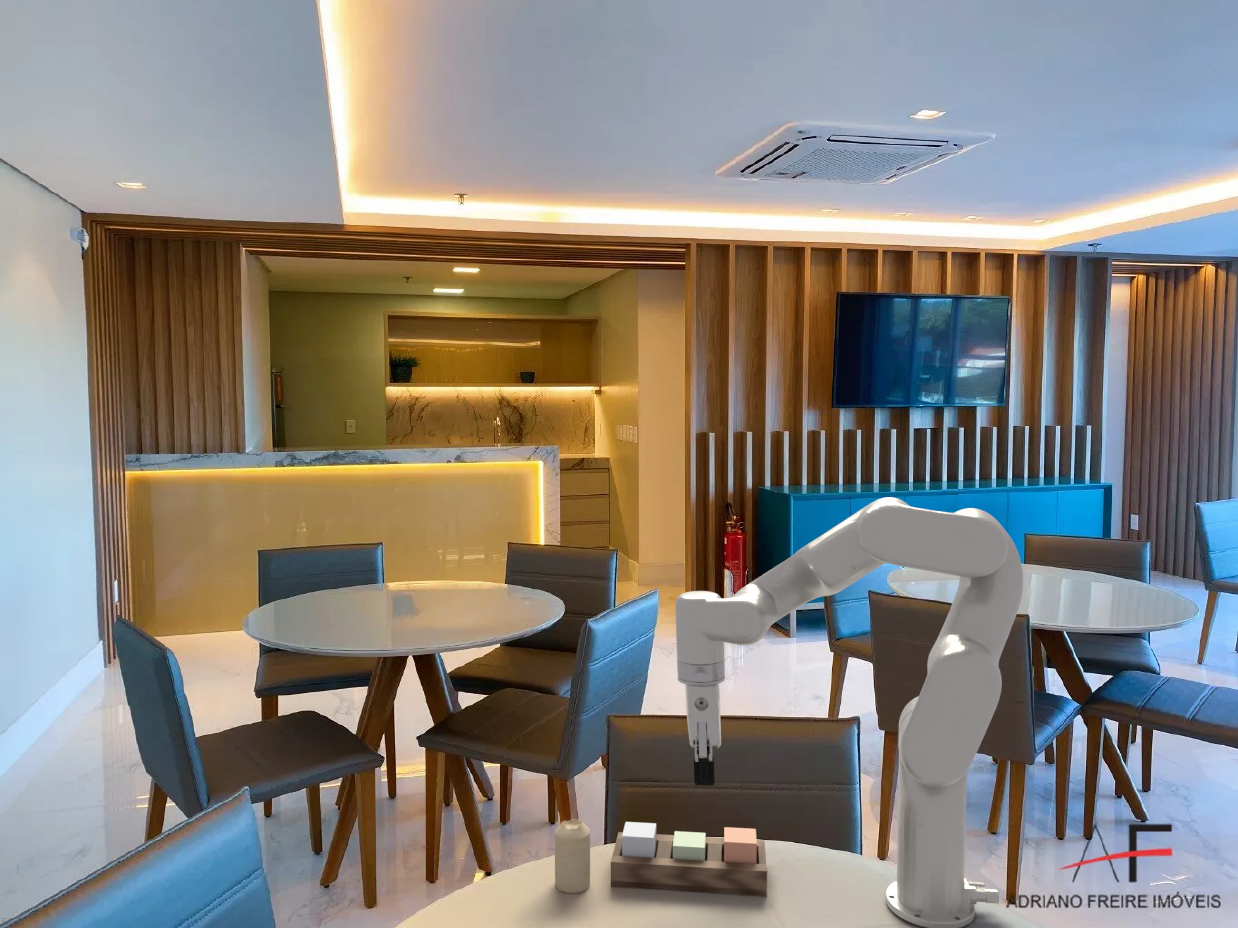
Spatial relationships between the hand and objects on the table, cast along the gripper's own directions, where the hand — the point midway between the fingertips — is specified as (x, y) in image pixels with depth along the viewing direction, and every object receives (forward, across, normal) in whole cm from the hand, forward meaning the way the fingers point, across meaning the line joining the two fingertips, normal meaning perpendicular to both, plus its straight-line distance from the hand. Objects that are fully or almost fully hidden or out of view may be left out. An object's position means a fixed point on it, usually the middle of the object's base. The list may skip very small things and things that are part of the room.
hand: (704, 783), depth 144 cm
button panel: (+14, -1, +3) cm, 15 cm away
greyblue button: (+12, -1, +11) cm, 16 cm away
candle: (+14, -6, +21) cm, 26 cm away
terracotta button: (+12, -2, -5) cm, 13 cm away
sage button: (+13, -1, +3) cm, 13 cm away
